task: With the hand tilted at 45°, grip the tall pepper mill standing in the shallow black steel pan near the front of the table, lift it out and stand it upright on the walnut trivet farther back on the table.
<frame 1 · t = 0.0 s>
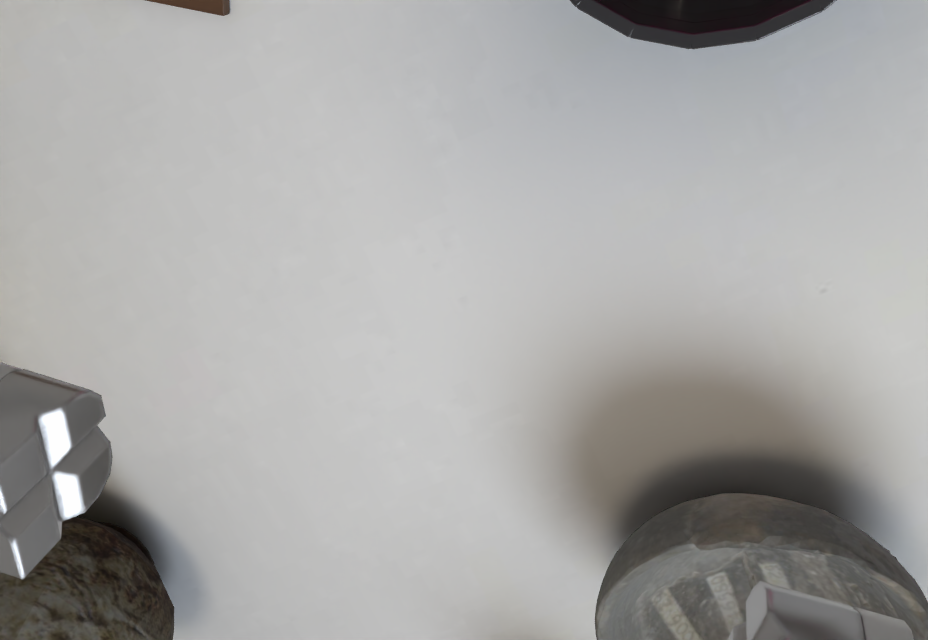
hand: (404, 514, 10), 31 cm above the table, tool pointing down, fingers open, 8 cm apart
bowl: (754, 551, 49), on the table
vase: (114, 550, 68), on the table
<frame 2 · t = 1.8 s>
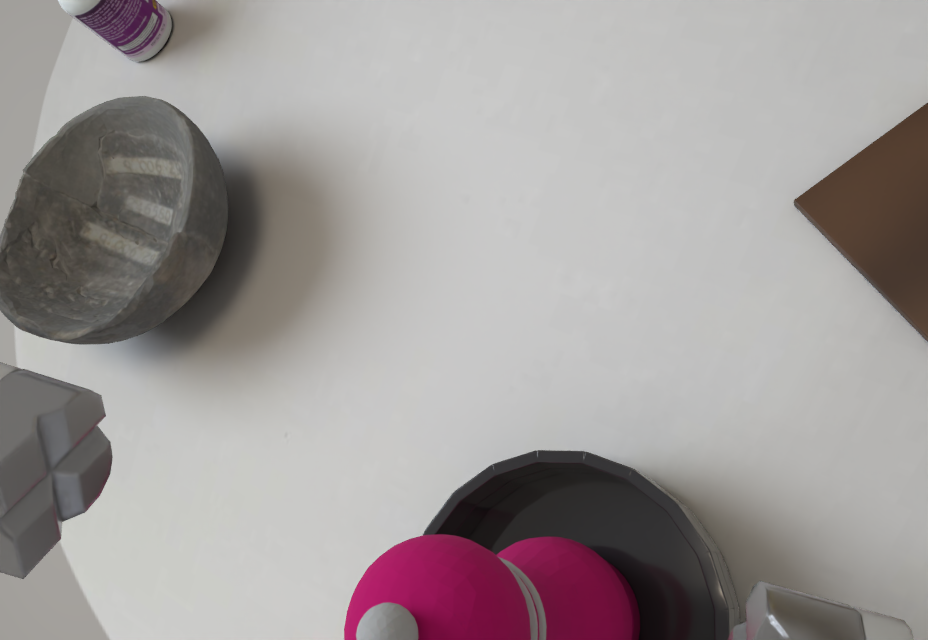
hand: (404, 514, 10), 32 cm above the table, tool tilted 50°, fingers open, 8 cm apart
pill bottle: (151, 37, 69), on the table
pan: (580, 617, 40), on the table
bowl: (173, 253, 60), on the table
pepper mill: (578, 617, 40), resting on pan
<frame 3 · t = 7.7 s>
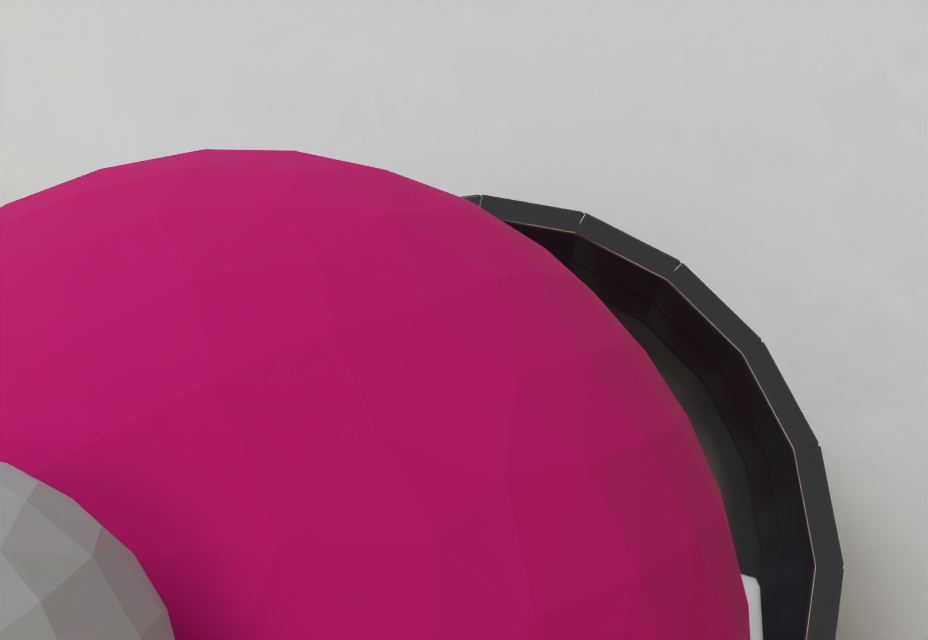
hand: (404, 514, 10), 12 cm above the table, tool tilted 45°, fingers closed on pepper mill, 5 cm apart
pan: (477, 532, 21), on the table
pepper mill: (476, 533, 21), resting on pan, touching gripper
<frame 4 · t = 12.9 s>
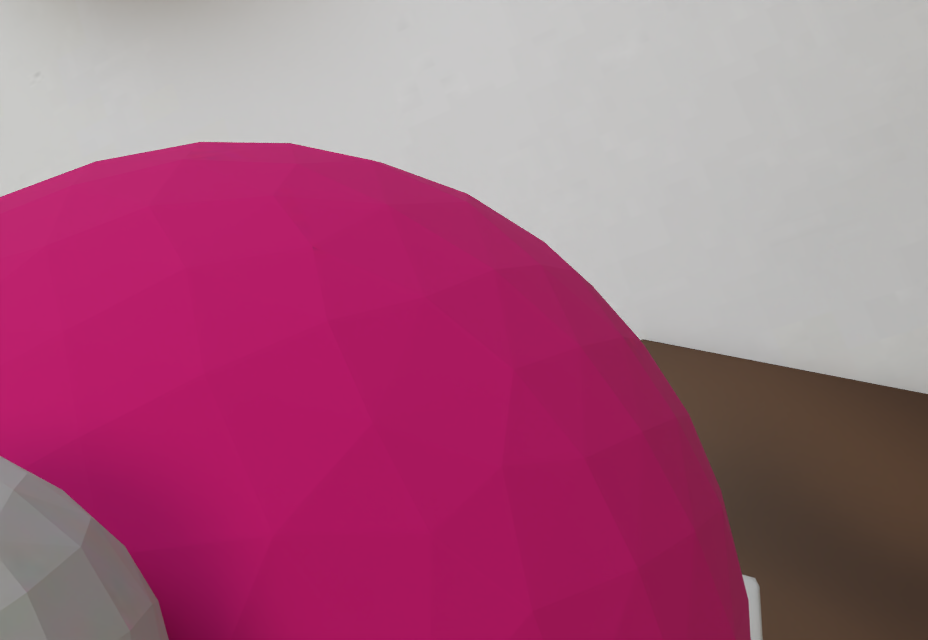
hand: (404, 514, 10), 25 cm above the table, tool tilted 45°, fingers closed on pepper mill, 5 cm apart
pepper mill: (476, 531, 21), point 13 cm above the table, touching gripper
trivet: (785, 543, 32), on the table
when the fingers open (12 cm above the table, at t = 18.3 s): pepper mill stays where it is, resting on trivet.
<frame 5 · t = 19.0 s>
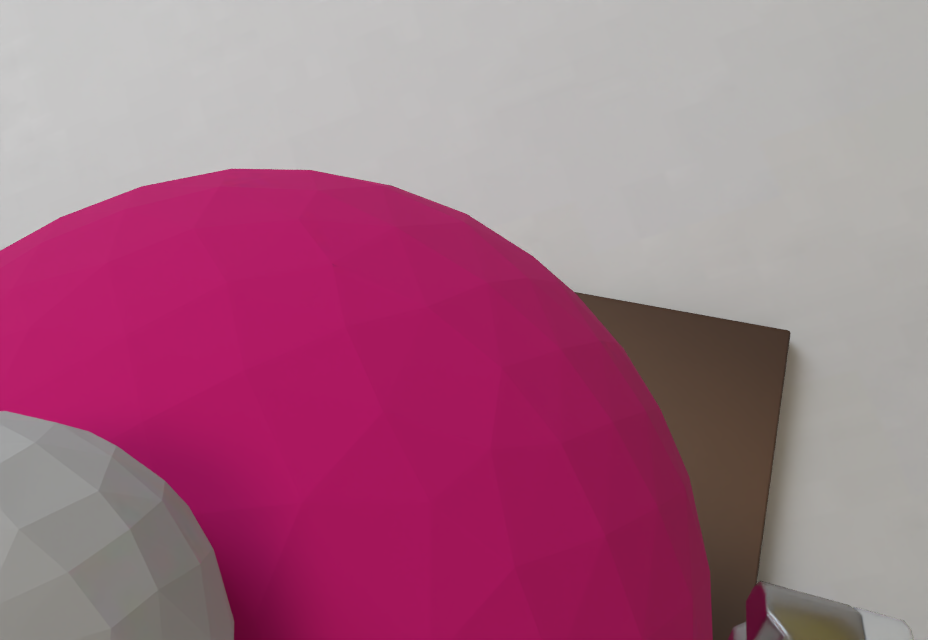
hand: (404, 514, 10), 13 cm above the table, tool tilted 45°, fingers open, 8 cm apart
pepper mill: (479, 528, 21), resting on trivet
trivet: (484, 535, 22), on the table
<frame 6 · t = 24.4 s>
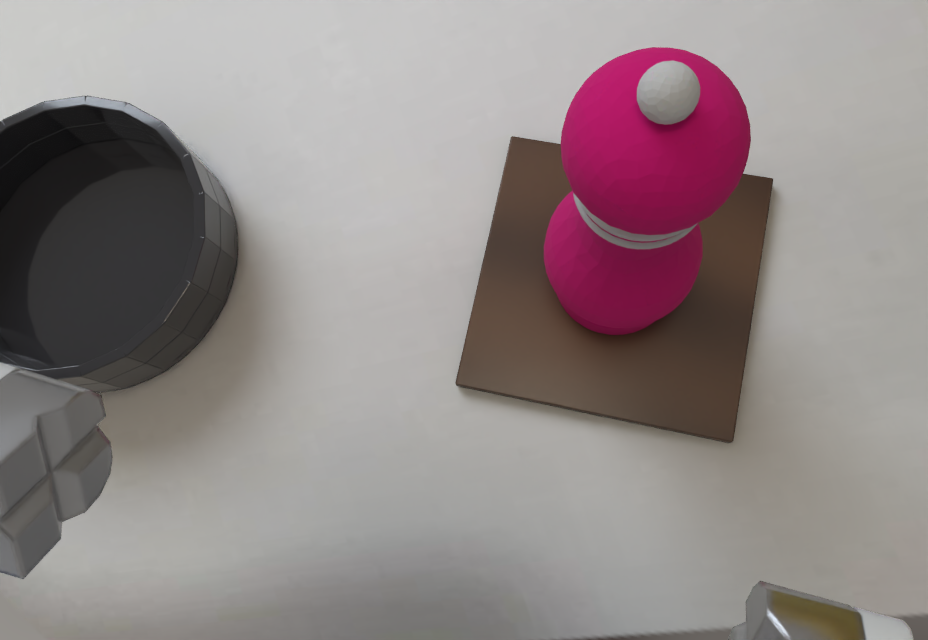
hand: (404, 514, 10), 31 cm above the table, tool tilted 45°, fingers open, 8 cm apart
pan: (107, 258, 45), on the table
pepper mill: (613, 277, 42), resting on trivet
trivet: (614, 283, 42), on the table
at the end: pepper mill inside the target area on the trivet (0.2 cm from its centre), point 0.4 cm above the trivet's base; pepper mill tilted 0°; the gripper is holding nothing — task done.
